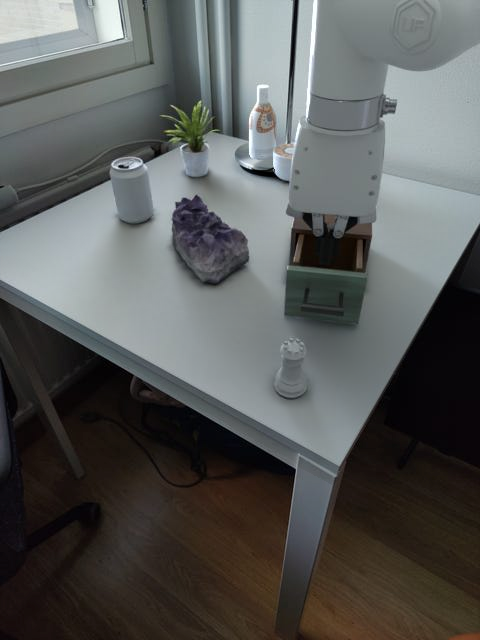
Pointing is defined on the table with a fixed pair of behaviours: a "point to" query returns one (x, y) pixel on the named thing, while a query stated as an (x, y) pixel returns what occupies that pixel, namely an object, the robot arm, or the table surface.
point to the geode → (207, 241)
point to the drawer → (326, 282)
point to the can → (131, 189)
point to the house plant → (193, 142)
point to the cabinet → (355, 232)
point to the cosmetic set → (268, 136)
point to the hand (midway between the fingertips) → (325, 258)
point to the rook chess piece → (291, 370)
